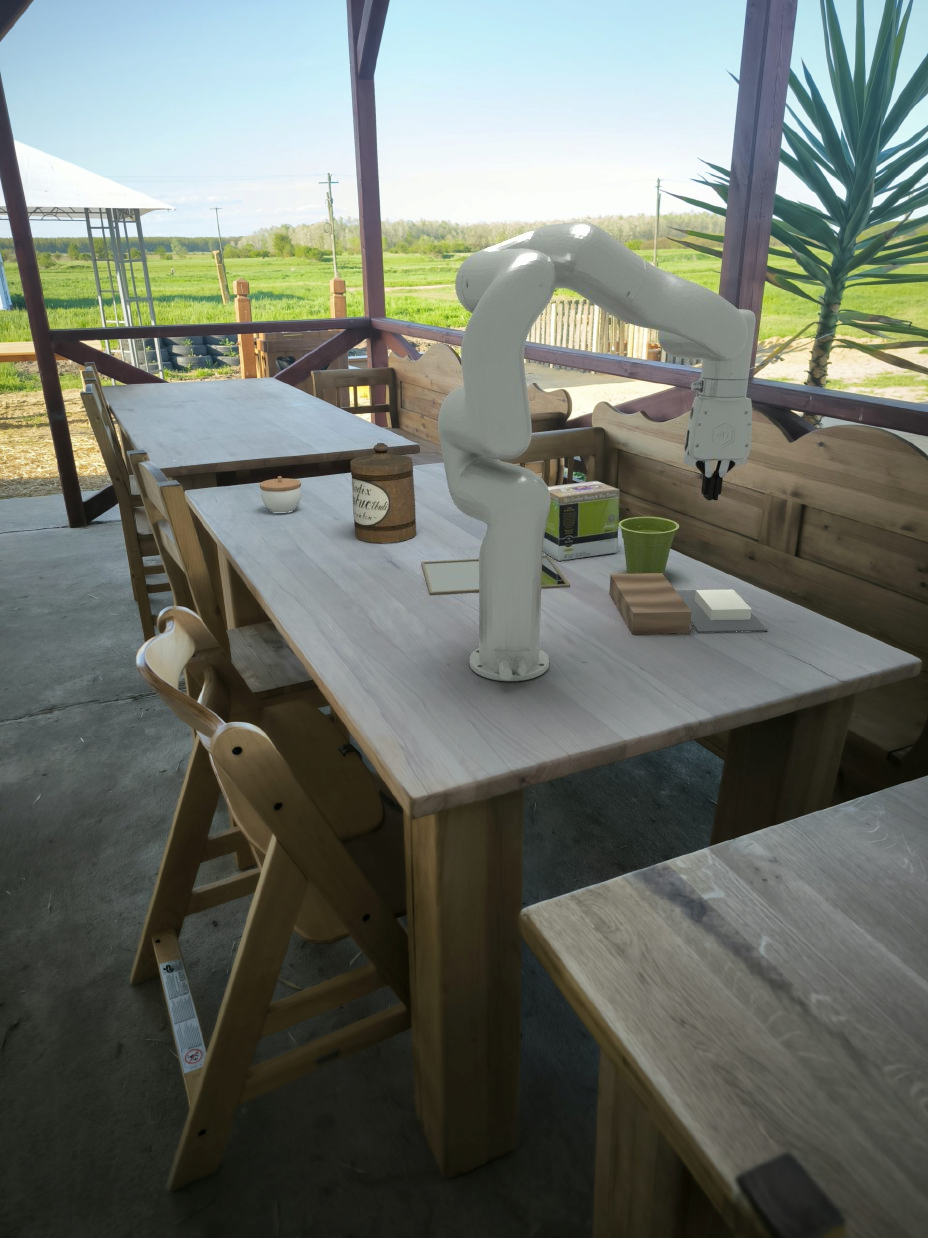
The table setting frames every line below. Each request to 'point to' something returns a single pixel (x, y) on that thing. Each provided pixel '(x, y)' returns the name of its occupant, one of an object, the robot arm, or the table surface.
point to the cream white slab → (723, 605)
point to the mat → (707, 625)
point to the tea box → (582, 520)
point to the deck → (649, 604)
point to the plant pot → (647, 543)
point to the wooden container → (383, 497)
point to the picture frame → (476, 576)
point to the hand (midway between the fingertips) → (710, 498)
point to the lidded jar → (281, 494)
